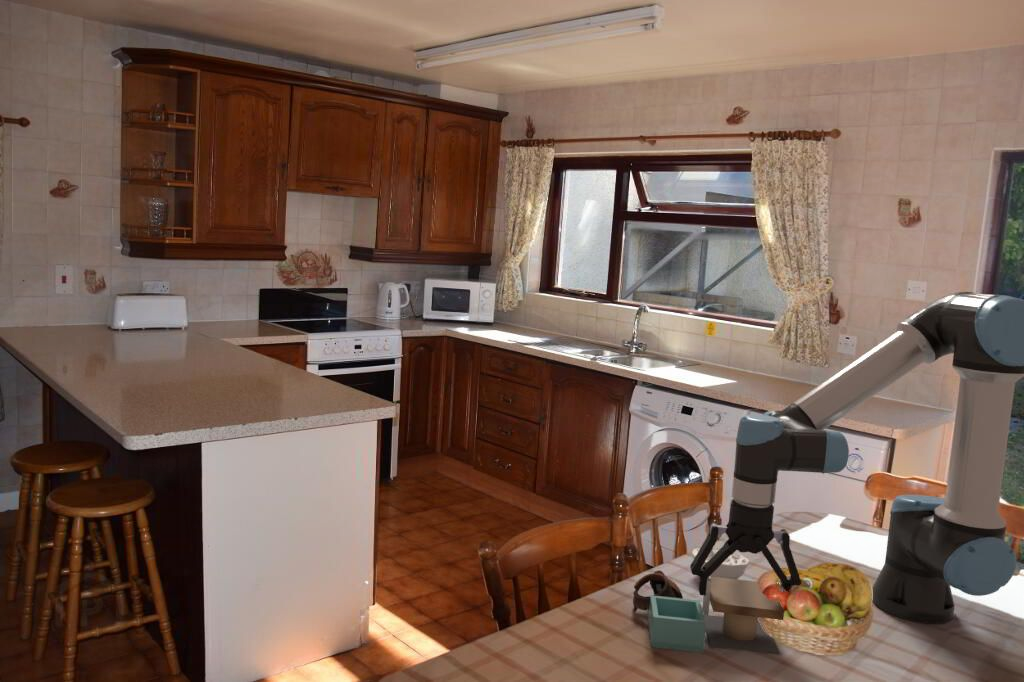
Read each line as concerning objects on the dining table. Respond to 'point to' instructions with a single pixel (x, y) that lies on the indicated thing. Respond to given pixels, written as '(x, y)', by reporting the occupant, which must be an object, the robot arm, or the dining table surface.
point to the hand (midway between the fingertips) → (740, 615)
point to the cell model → (727, 564)
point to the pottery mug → (655, 589)
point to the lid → (742, 599)
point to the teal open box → (676, 624)
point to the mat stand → (738, 633)
